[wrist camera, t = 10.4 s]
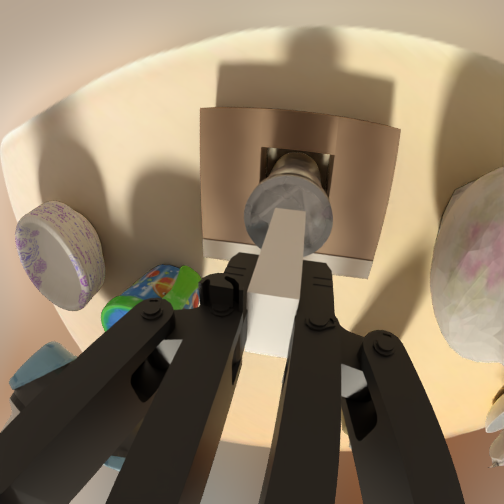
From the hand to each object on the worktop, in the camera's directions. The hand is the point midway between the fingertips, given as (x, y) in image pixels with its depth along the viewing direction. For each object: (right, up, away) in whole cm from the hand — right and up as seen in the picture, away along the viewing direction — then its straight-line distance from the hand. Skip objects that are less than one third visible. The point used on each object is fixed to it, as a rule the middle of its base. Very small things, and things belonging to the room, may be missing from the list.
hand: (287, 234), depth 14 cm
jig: (+2, +7, +11) cm, 13 cm away
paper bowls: (-27, +1, +21) cm, 35 cm away
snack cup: (-12, -5, +22) cm, 25 cm away
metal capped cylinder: (+2, +6, +11) cm, 13 cm away
